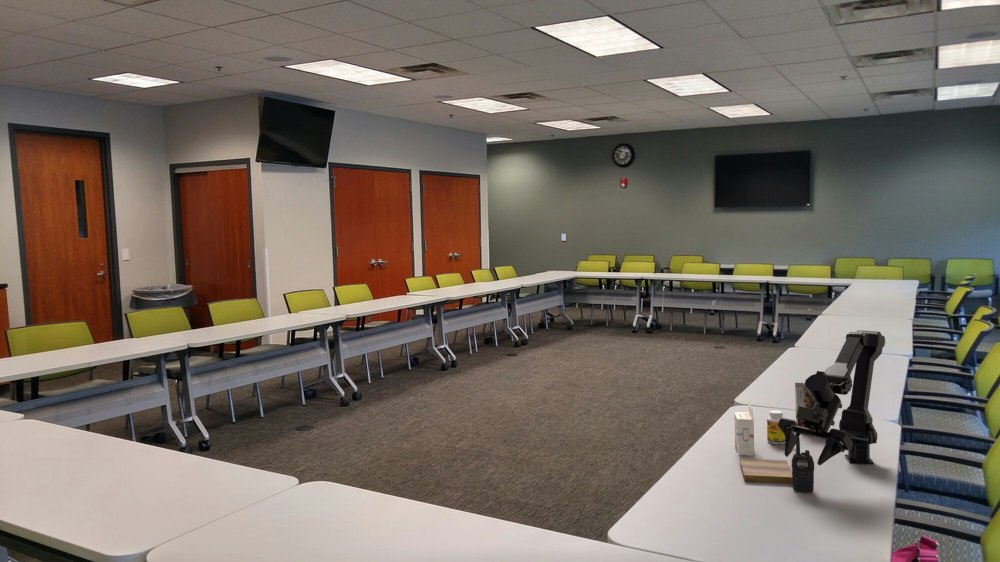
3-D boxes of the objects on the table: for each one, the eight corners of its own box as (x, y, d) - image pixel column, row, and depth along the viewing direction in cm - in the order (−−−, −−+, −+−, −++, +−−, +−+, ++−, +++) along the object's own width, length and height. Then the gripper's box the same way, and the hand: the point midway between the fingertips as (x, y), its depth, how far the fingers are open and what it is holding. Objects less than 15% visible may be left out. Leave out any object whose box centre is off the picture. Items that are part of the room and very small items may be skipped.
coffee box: (823, 428, 233) (823, 382, 232) (826, 433, 227) (825, 386, 226) (795, 427, 236) (794, 381, 235) (796, 432, 230) (796, 386, 229)
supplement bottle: (763, 441, 222) (763, 410, 221) (776, 438, 224) (775, 408, 223) (776, 445, 216) (776, 414, 216) (789, 443, 219) (789, 412, 218)
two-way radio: (791, 491, 179) (790, 436, 178) (792, 486, 183) (792, 432, 182) (814, 494, 176) (813, 438, 175) (815, 488, 180) (814, 434, 179)
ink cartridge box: (734, 447, 217) (733, 402, 216) (750, 447, 216) (749, 402, 215) (738, 455, 209) (737, 409, 208) (754, 456, 208) (754, 409, 207)
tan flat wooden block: (739, 465, 200) (739, 458, 200) (786, 467, 197) (786, 460, 197) (744, 482, 187) (744, 474, 187) (794, 484, 184) (794, 477, 183)
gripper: (780, 389, 188) (757, 435, 182) (847, 401, 173) (824, 452, 167) (796, 412, 193) (774, 457, 188) (862, 425, 178) (840, 475, 172)
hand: (801, 460), depth 179 cm, fingers open, 9 cm apart
